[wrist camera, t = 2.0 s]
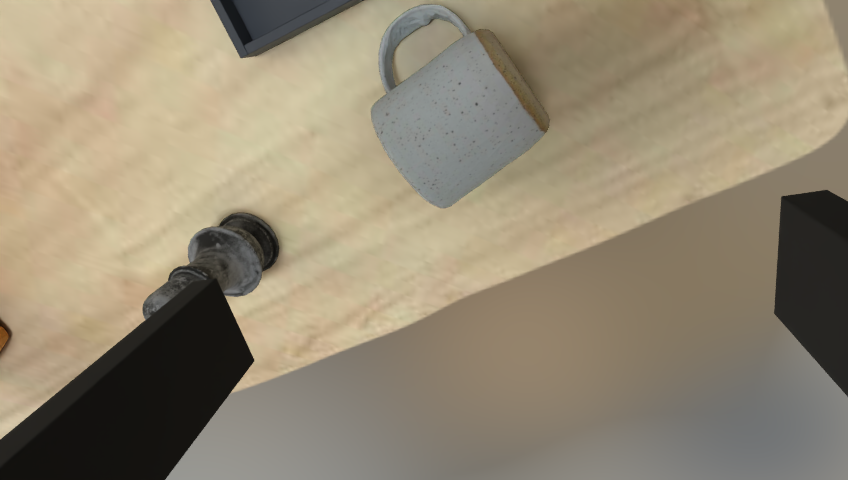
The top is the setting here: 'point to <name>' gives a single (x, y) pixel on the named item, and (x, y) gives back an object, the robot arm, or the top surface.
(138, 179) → the top surface
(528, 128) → the ceramic mug
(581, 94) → the top surface
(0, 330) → the coffee package
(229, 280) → the dark chess piece
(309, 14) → the tray
